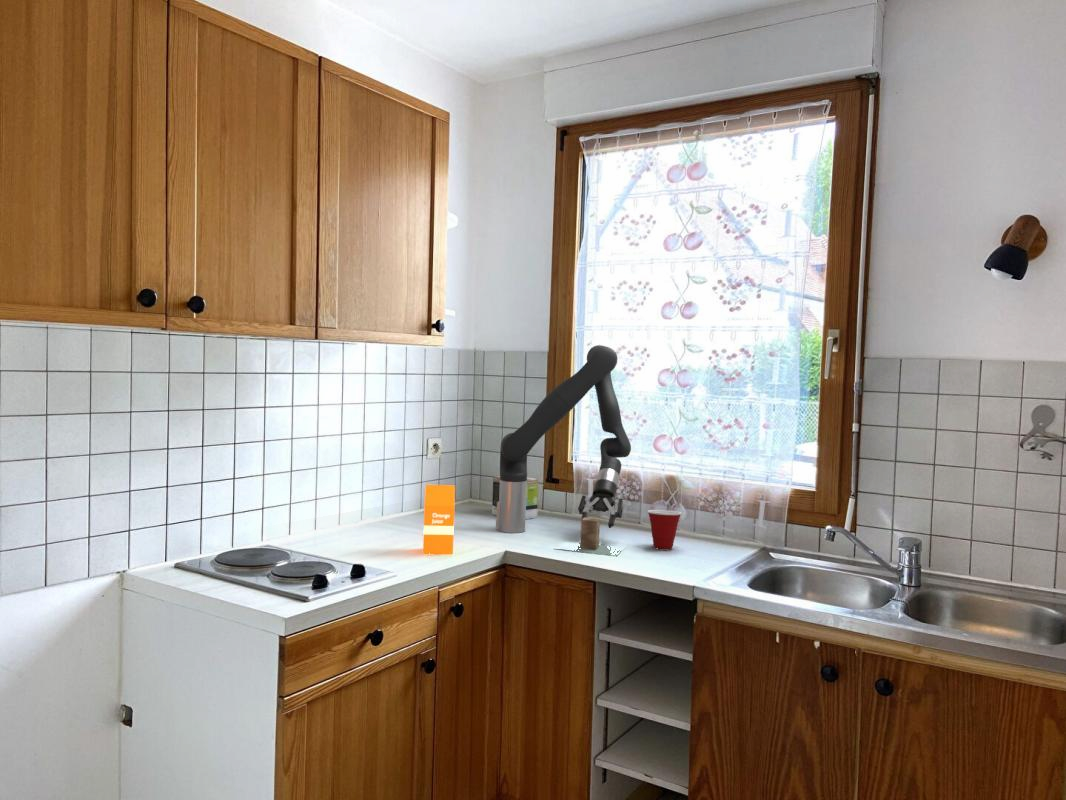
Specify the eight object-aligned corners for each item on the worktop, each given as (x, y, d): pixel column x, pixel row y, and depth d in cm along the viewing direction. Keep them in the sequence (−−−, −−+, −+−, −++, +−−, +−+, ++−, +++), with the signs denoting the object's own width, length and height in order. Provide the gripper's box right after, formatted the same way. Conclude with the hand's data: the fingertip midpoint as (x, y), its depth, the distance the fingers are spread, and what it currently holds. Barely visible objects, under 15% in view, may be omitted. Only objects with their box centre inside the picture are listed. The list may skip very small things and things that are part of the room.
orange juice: (424, 548, 237) (426, 482, 236) (453, 548, 238) (455, 483, 237) (422, 554, 229) (424, 486, 228) (453, 555, 230) (455, 487, 229)
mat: (553, 549, 242) (553, 548, 242) (564, 541, 253) (564, 540, 253) (616, 556, 236) (616, 555, 236) (625, 548, 247) (625, 547, 247)
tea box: (538, 517, 292) (539, 478, 292) (519, 521, 285) (520, 480, 284) (509, 511, 303) (511, 473, 302) (490, 514, 295) (492, 475, 295)
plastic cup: (678, 545, 254) (680, 508, 254) (681, 552, 243) (683, 514, 243) (645, 543, 255) (646, 506, 255) (646, 550, 244) (648, 512, 244)
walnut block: (580, 548, 243) (581, 519, 243) (583, 545, 247) (584, 517, 247) (595, 550, 242) (597, 521, 241) (598, 547, 246) (599, 518, 245)
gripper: (584, 476, 262) (573, 516, 252) (625, 479, 257) (616, 520, 247) (587, 490, 267) (577, 529, 257) (628, 493, 263) (619, 534, 252)
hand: (596, 525), depth 252 cm, fingers open, 8 cm apart
